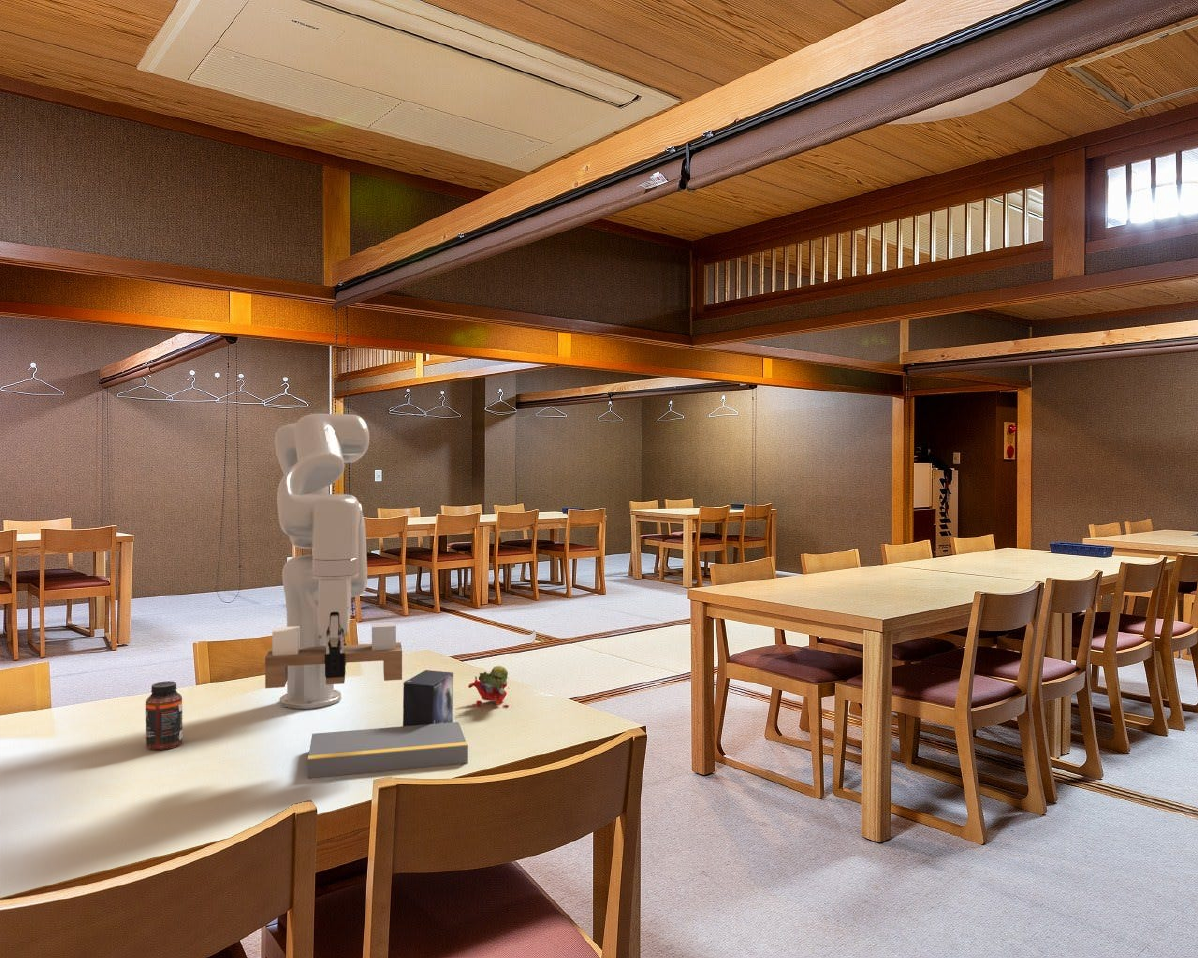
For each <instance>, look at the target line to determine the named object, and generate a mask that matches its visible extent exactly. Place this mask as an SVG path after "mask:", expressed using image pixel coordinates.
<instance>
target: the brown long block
mask: <svg viewBox="0 0 1198 958" xmlns="http://www.w3.org/2000/svg"><path fill="white" fill-rule="evenodd" d="M343 653H345V676H344V677H338V678H326V685H327V684H334V685H339V684H345V681H346V667H347V663H348V664H349V663H361V662H362V663H365V662H379V661H382V662H383V668H382V669H383V670H382V671H383V680H384V682H388V681H389V682H390V681H401V680H403V647H402V642H399V641H398V642H396V649H390V650H372V643H363V644H360V643H357V644H346V645H343ZM325 654H326V646H319V647H300V650H299V653H298V654H297V655H278V656H273V648H269V650H268V651H267V653H266V656H265V657H264V679H265V680H264V683H265V684H264V689H274V688H275V689H276V688H285V686H286V685H287V679H288V666H296V665H313V664H325Z"/></svg>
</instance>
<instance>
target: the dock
mask: <svg viewBox="0 0 1198 958" xmlns="http://www.w3.org/2000/svg"><path fill="white" fill-rule="evenodd" d="M468 749H469V745H468V743H467V740H466V738H465V735H464V733H463V730H462V727H461V724H460V722H459V721H453V722H450V723H438V724H425V725H413V726H403V725H402V726H392V727H390V726H389V727H380V728H367V729H366V728H365V729H353V730H342V731H341V730H338V731H329V732H317V733H311V737H310V745H309V750H308V756H307V779H313V778H315V779H317V778H325V777H334V776H346V775H356V774H370V773H376V772H377V773H378V771H380V772H389V771H397V770H398V771H399V770H408V769H409V770H410V769H420V768H422V769H423V768H431V767H440V766H451V765H463V764H468V763H469V762H468V761H469V755H468V754H469V750H468Z"/></svg>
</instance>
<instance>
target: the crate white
mask: <svg viewBox="0 0 1198 958" xmlns="http://www.w3.org/2000/svg"><path fill="white" fill-rule="evenodd" d="M271 633H272V637H271V638H272V641H271V642H272V649H273V656H278V655H297V654H298V653H299V650H300V626H294V627H287V626H276V627H274V629H273V631H272V632H271Z"/></svg>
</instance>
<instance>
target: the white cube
mask: <svg viewBox="0 0 1198 958" xmlns="http://www.w3.org/2000/svg"><path fill="white" fill-rule="evenodd" d="M396 629H397V626H396V621H388V622H387V621H386V622H385V621H383V622H371V644H372V650H390V649H396V643H397V642H396V641H397V638H396V637H397V636H396V635H397V630H396Z"/></svg>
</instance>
